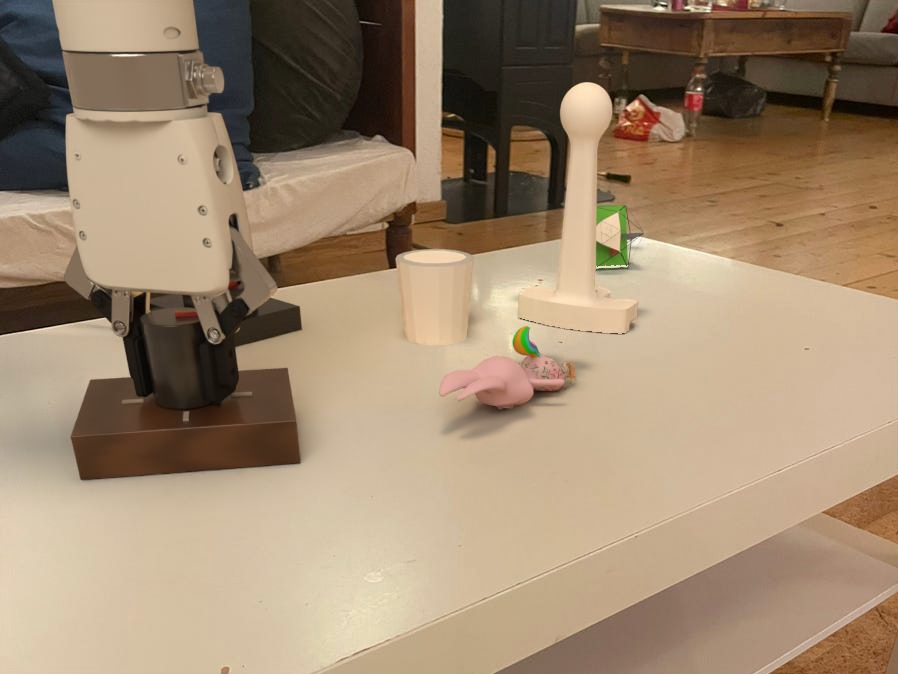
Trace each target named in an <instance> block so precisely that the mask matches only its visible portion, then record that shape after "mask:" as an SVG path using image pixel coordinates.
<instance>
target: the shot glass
mask: <svg viewBox="0 0 898 674" xmlns="http://www.w3.org/2000/svg"><path fill="white" fill-rule="evenodd" d="M474 257H475V256H473V255H472V254H470V253H469V252H465V251H461V250H455V249H445V248H441V249H440V248H428V249H427V248H426V249H415V250H410V251H405V252H402V253H399V254H397V255H396V257H395V267H396V275H397V281H398V289H399V298H400V307H401V313H402V320H403V329H404V336H405V338H406V339H407V341H409V342H411V343H414V344H418V345H425V346H446V345H453V344H457V343H461V342H463V341H465V340H466V339H467V337H468V328H469V327H468V326H469V315H470V305H471V304H470V303H471V293H472V292H471V291H472V282H473V270H474V260H475V259H474Z"/></svg>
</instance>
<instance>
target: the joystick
mask: <svg viewBox="0 0 898 674" xmlns="http://www.w3.org/2000/svg"><path fill="white" fill-rule="evenodd" d="M559 116H560V117H559V118H560V124H561V125H562V128H563V130H564V131H565V132H566V134H567V137H568V140H569V144H570V151H569V160H568V161H569V162H568V169H567V182H566V191H565V202H564V209H563V211H564V212H563V221H562V230H561V240H560V251H559V259H558V260H559V261H558V268H557V270H558V271H557V280H556V290H554V289H549V288H546V287H543V286H535V285H534V286H530V287H528V288H526V289H524V290H522V291H520V292H519V293H518V299H517V300H518V302H517V303H518V304H517V318H518V317H519V318H518V319H520V318H522V319H521V320H523V319H525V320H524V321H526V320H529V321H528V322H530V321H534V322H536V323H535V324H538V323H541V324H540V325H542V324H545V325H544V326H547V325H549V326H548V327H552V326H555V327H554V328H558V327H560V328H559V329H564V328H565V329H566V330H570V329H573V330H572V331H578V330H580V331H579V332H586V331H592V332H591V333H596V332H602V333H601V334H610V333H618V334H617V335H623V334H622V333H625V334H626V332H627V331H628V332H630V324H631V323H632V324H633V323H636V322H637V317H638V305H639V301H638V300H637V299H623V298H622V299H621V298H611V290H610V289H608V288H606V287H603V286H597V285H596V281H597V280H596V278H597V277H596V276H597V275H596V274H597V273H596V212H597V206H598V205H597V203H598V150H599V149H598V147H599V143H600V141H601V138H602V136H603V135H604V134H605V133H606V131H607V129H608V128H609V126H610V124H611V122H612V118H613V103H612V99H611V97H610V95H609V93H608V91H606V89H604V88H603V87H602V86H601V85H599V84H598V83H594V82H587V81H585V82H580V83H578V84H576V85H574V86H573V87H571V88H570V89H569V90H568V91H567V92H566V94H565V95H564V97H563V99H562V101H561V104H560V109H559ZM534 322H533V323H534ZM628 332H627V333H628Z"/></svg>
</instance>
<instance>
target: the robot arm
mask: <svg viewBox="0 0 898 674" xmlns="http://www.w3.org/2000/svg"><path fill="white" fill-rule="evenodd" d="M51 1H52V6H53V11H54V17H55V23H56V28H57V30H58V38H59V43H60V47H61V50H63V51H62V52H61V53H62V59H63V64H64V69H65V74H66V80H67V84H68V89H69V94H70V100H71V105H72V110H73V112H72V113H67V114H66V115H65V161H66V175H67V176H66V177H67V186H68V195H69V202H70V209H71V210H70V211H71V219H72V224H73V229H74V235H75V240H76V246H75V248H74V251H73V252H72V255H71V258H70V259H69V262H68V264H67V266H66V268H65V271H64V274H63V279H64V281H65V283H66V284H67V285H68V286H69V287H71V289H73V290H74V291H75V292H77V293H78V294H79V295H81V297H84V298H85V299H86V300H89V301H90V302H91V303H90V304H92V306H93V307H94V308H95V309H96V311H98V312H99V313H100V314H101V315H102V316H103V317H104V318H105V319H106V320H107V321H108V322H109V324H110V325H111V330H112V332H113V333H114V335H116V336H118V337H119V338H122V343H123V347H124V352H125V353H124V354H125V357H126V358H125V359H126V363H127V369H128V373H129V377H131V378H132V379H133V381H134V387H135V392H136V395H137V396H138V397H147V396H148V395H150V394H152V393H153V390H152V384H151V379H150V373H149V368H148V362H147V357H146V351H145V346H144V340H143V334H142V329H141V323H140V318H141V316H143V315H144V314H146V313H149V312H151V311H150V299H151V293H152V294H164V295H165V294H166V295H171V294H178V295H191V298H192V301H193V303H194V306H195V309H196V312H197V314H198V317H199V320H200V323H201V325H202V328H203V331H204V334H205V338H206V341H205V342H204V343H202V344H201V345H200V347H199V351H200V358H201V364H202V371H203V378H204V384H205V391H206V397H207V400H208V401H209V402H210V403H215V404H219V403H220V402H222V401H223V400H224V399H225V398H227V397H228V396H229V395H231V394H232V393H233V392H234V391H235V390H236V385H237V384H238V381H239V372H238V371H239V366H238V358H237V351H236V349H237V348H236V347H235V341H234V334H235V333H236V332H237V331H238V330H239V329H240V326H241V325H242V324H243V323H244V322H245V321H246V319H247V318H248V317H249V316H250V315H251V314H252V312H253V311H254V310H255V309H257V308H258V307H259V306H261V305H262V304H263V303H264V302H266V301H267V300H268V299H269V298H273V296H275V295H276V294H277V292H278V285H277V282H276V281H275V280H274V279H273V277H272V276H271V274H270V273H269V272H268V270H267V269H266V268H265V266H264V264H263V263H262V262H261V261H260V260H259V258H258V256H257V255H256V254H255V253H254V246H253V238H252V231H251V227H250V221H249V215H248V210H247V209H248V208H247V203H246V200H245V195H244V190H243V185H242V180H241V175H240V172H239V169H238V168H239V167H238V164H237V161H236V156H235V153H234V149H233V146H232V143H231V140H230V136H229V133H228V129H227V127H226V123H225V121H224V118H223V115H222V113H220V112H208V104H209V103H210V98H209V96H211V95H212V94H222V93H223V92H224V90H225V76H224V75H225V74H224V73H223V70H222V68H221V67H220V66H210V65H209V64H207V63H205V58H204V53H203V51H200V50H199V49H200V46H199V44H200V43H199V36H198V30H197V22H196V21H197V20H196V13H195V5H194V0H51ZM237 281H243V283H244V291H243V292H242V293H241V294H240V295H239V296H238V297H236V298H235V299H234V300H233V301H232V298H231V295H230V292H229V289H228V286H229V282H237Z"/></svg>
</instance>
